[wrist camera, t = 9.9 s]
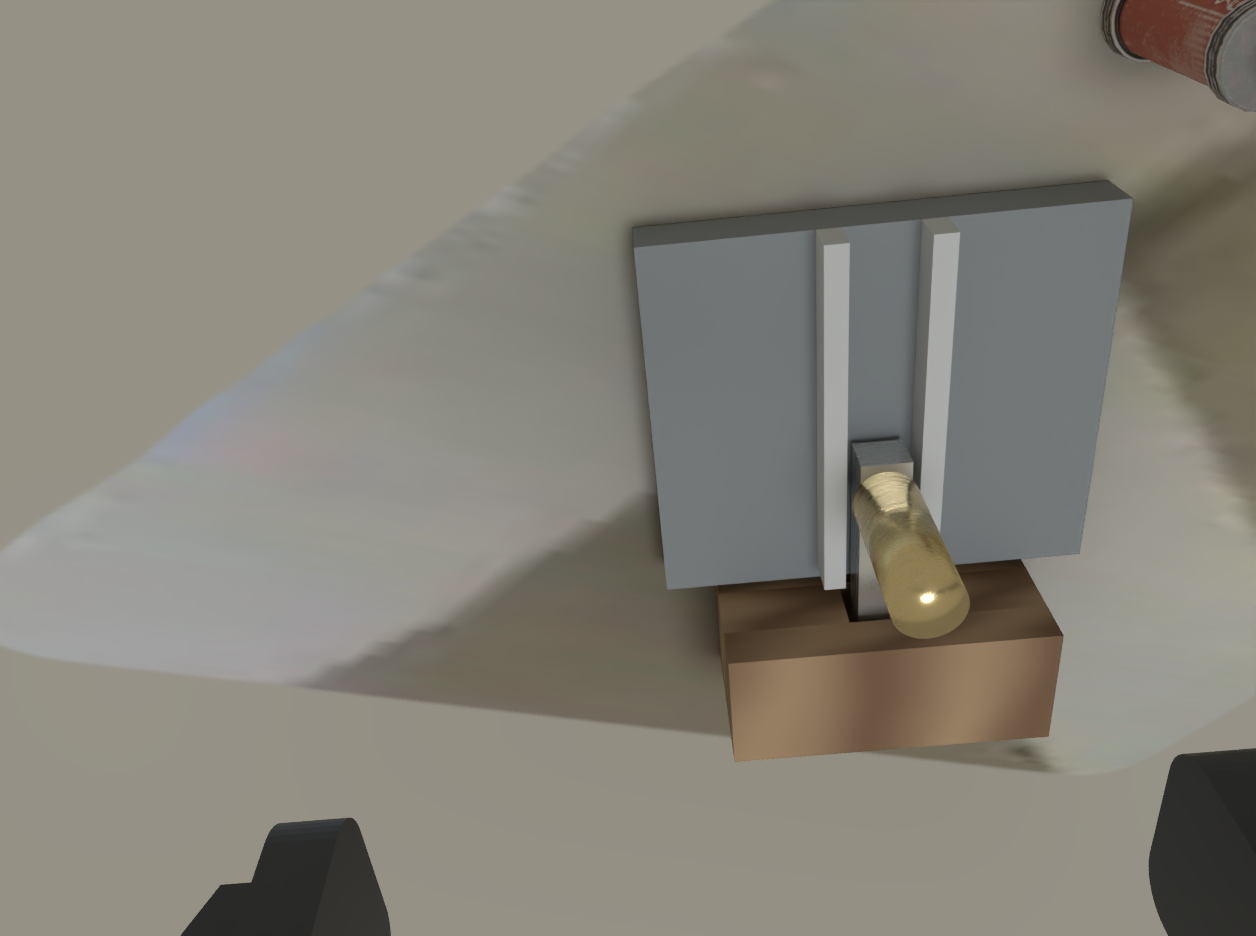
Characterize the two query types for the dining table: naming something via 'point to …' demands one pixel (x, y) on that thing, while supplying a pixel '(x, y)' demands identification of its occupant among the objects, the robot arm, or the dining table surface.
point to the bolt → (899, 548)
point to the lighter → (1190, 41)
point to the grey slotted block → (878, 373)
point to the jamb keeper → (884, 668)
